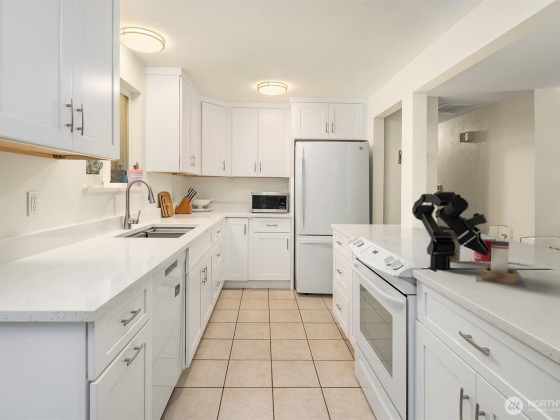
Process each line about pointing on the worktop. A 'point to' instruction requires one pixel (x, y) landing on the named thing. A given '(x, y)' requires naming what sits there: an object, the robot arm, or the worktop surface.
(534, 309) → the worktop surface
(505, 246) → the white lens
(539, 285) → the worktop surface
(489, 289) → the worktop surface
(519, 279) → the rubber mat
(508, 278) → the wooden tray
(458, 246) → the coffee box
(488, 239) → the canned food
